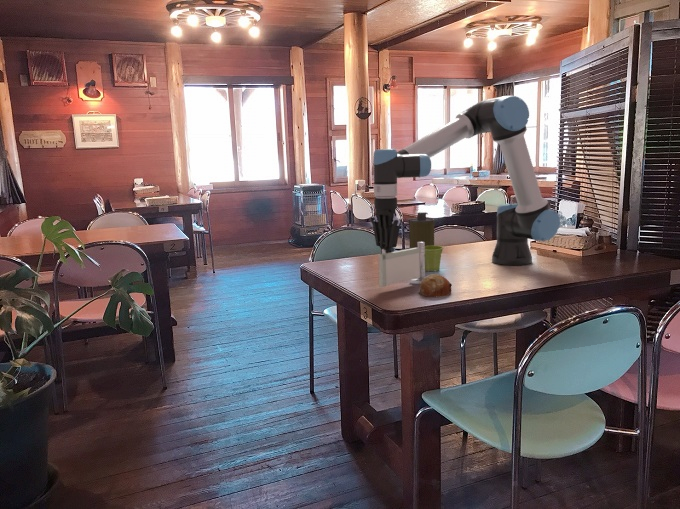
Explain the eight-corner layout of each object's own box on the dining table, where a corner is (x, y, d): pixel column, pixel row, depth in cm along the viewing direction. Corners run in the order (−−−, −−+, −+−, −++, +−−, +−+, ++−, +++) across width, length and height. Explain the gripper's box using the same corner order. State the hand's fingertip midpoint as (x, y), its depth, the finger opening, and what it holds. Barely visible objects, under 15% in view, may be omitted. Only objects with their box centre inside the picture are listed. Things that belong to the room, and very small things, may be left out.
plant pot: (428, 273, 205) (428, 250, 204) (413, 269, 213) (413, 247, 212) (448, 270, 209) (448, 247, 208) (433, 266, 218) (433, 244, 216)
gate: (416, 277, 191) (416, 246, 189) (420, 278, 190) (419, 247, 188) (379, 286, 181) (378, 253, 179) (382, 286, 180) (381, 254, 178)
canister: (434, 258, 233) (433, 211, 230) (435, 263, 223) (435, 213, 220) (408, 259, 235) (407, 211, 231) (408, 264, 224) (407, 214, 221)
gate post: (433, 281, 193) (432, 241, 190) (425, 285, 188) (425, 244, 185) (417, 279, 196) (417, 240, 194) (409, 283, 191) (409, 243, 189)
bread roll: (421, 301, 182) (411, 280, 180) (449, 286, 182) (439, 265, 180) (429, 309, 172) (418, 287, 171) (458, 293, 172) (447, 271, 171)
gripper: (363, 197, 184) (365, 266, 188) (390, 199, 174) (391, 272, 178) (380, 195, 189) (381, 263, 193) (407, 197, 179) (408, 269, 183)
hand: (386, 267), depth 186 cm, fingers closed
